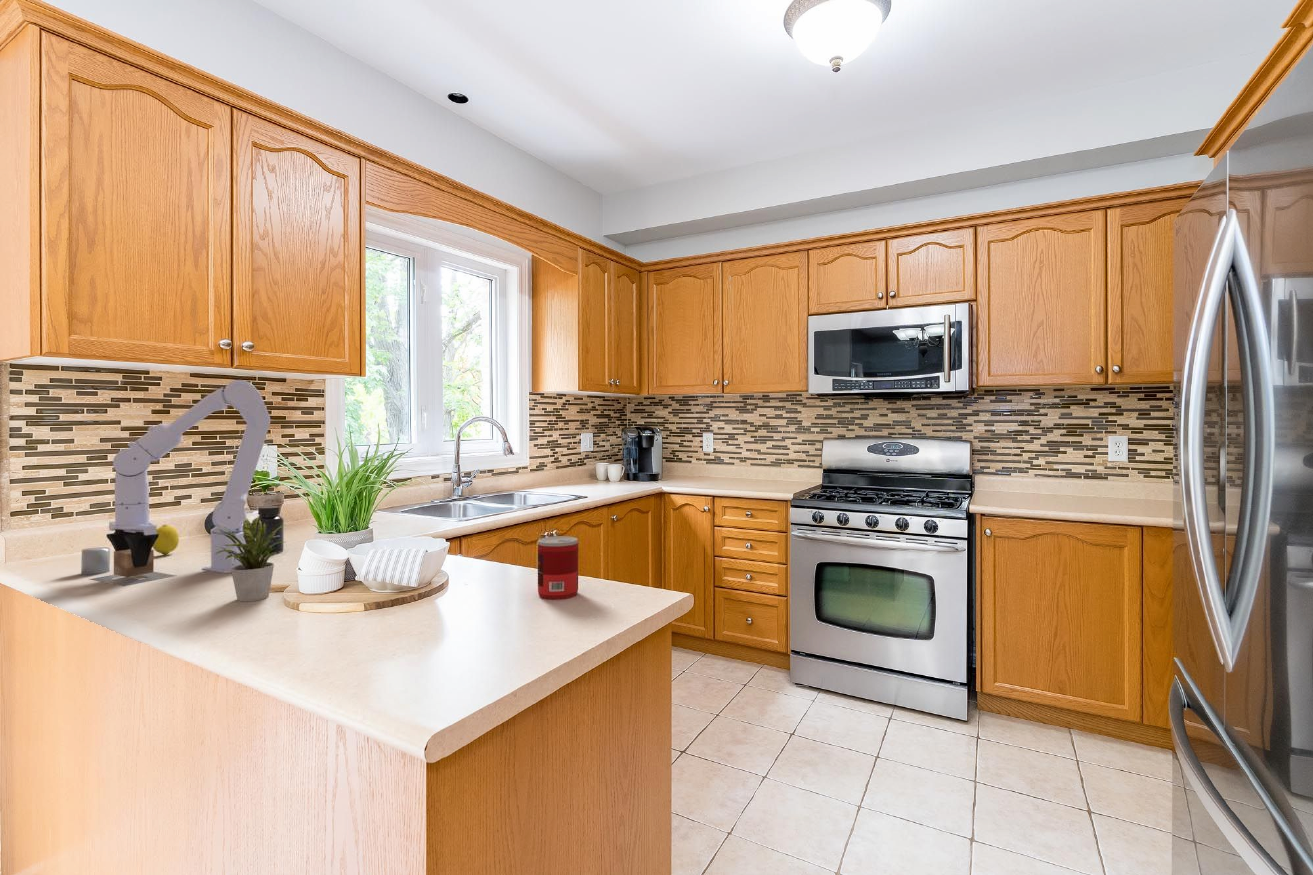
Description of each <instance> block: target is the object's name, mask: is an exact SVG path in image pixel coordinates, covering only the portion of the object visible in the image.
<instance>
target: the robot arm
mask: <svg viewBox="0 0 1313 875" xmlns="http://www.w3.org/2000/svg"><path fill="white" fill-rule="evenodd" d="M228 405H229V406H231V407H232V408H233V409H234V410H236V411H238V412H239V414H240V416H241V417H242V419H243V420H244V421H245V423H246V427H245V428H244V432H243V435H242V439H241V442H240V444H239V447H238V451H237V454H236V457H235V460H234V462H233V466H232V469H231V472H230V476H229V478H228V480H227V484H226V487H225V489H224V490H225V491H224V494H223V496H222V498H221V500H220V501H219V503H218V504H216V505H215V507H214V508H213V513H212V516H211V519H212V524H215V525H214V527H213V528H211V529H210V565H208V566H203V567H202V570H203V571H204V570H205V571H210V572H217V573H223V574H229V573H232V572H231V568H232V567H234V566H237V565H241V564H242V563H241V562H239V561H238V560H237V559H235V561H234V557H233V556H232V557H229V558H227V559H226V557H227V556H228V555H230V554H229V553H227V552H226V551H224V552H220V553H218V554H216V553H217V552H219V551H222V550H224V549H222V548H225V549H226V550H232V551H235V552H236V553H241V552H240V550H239V549H238V548H237V547H236V546H225V544H234V542H233V541H232V540H231V539H229V538H228V537H226V536H225V535H219V534H226V533H224V532H228V531H229V530H230V531H231V532H232V533H233V534H234V535H235V536H236V537H237V538H238V539H239V540H240V541H241V543H242V544H246V542H245V539H244V537H243V535H244V533H243V522H244V521H245V518H246V513H245V512H246V511H245V505H246V502H247V498H248V494H249V492H250V487H251V485H252V481H253V478H254V475H255V472H256V468H257V466H258V463H259V459H260V457H261V456H260V455H261V453H262V450H263V447H264V444H265V440H266V439H267V438H266V437H267V435H268V431H269V428H270V425H271V416H270V414H269V412H268V409H267V406H266V404H265V402H264V399H263V396H262V394H261V393H260V391H259V390H258V389H257V387H256V386H254V385H253V384H252V383H251V382H249V381H248V380H244V379H235V380H232V381H230V382H229V383H227V385H226V386H225V387H224V386H222V387H220V388H219V389H217V390H215V391H213V392H211V393H209V394H208V395H206V396H204V398H202V399H201V400H199V401H198V402H197V403H195V404H194V405H193V406H192V407H191V408H189V409H188V410H186V411H185V412H184V413H183V414H181V415H180V416H179V417H178V418H176V419H175V420H173V422H171V423H159V424H157V425H154V424H153V425H151V426H149V427H148V428H147V431H148V432H146V433H145V434H144V435H142V436H141V437H139V438H138V439H136V440H135V441H130V442H128V443H127V446H128V447H129V448H124V449H120V450H119V451H118V453H116V454H115V456H114V457H113V459H112V460H113V461H112V466H113V468H114V470H115V474H114V479H115V482H114V515H115V516H114V520H115V521H114V520H113V521H109V523H108V524H109V525H108V529H109V531H110V532H111V531H114V532H113V533H112V532H111V533H107V534H106V535H105V536H106V538H107V540H109V542H110V543H111V545H112V547H113V549H114V551H121V550H127V549H130V550H131V555H132V562H133V565H134V567H142V566H147V563H148V559H149V556H150V552H151V549H152V548H153V545H154V543H155V541H156V540H157V538H158V537H159V534H158V533H157V529H158V528H157V527H158V526H157V525H156V524H153V523H152V522H151V521H150V488H149V486H150V485H149V484H150V483H149V481H148V469H149V467H150V465H151V462H157V461H159V460H160V459H161V458H163V457H164V456H165V455H166V454H168V453H169V452H171V451H172V450H173V449H175V448H176V447H177V446H178V445H180V444H181V443H182V441H183V433H185V432H187V431H188V430H189V429H191V428H192V427H193V426H195V425H197V424H198V423H199V422H201V421H203V420H204V419H205V418H208V416H209V415H211V414H212V413H214V412H218V411H223V410H228V408H229V407H228ZM219 525H221V526H219ZM222 526H224V527H226V528H227V529H229V530H227V529H226V528H224V527H222ZM219 529H222V530H219ZM226 530H227V531H226ZM220 531H224V532H220ZM230 531H229V532H228V533H230ZM230 534H231V533H230ZM226 535H228V534H226ZM229 536H230V535H229ZM230 537H231V536H230ZM233 539H234V538H233ZM234 540H235V539H234ZM235 541H236V540H235ZM255 541H256V538H255ZM236 542H237V541H236ZM237 543H238V542H237ZM214 546H218V547H214ZM220 547H222V548H220ZM240 548H241V547H240ZM241 549H242V548H241ZM152 550H153V549H152ZM232 551H231V552H232ZM242 551H243V552H244V550H243V549H242ZM235 552H234V553H235ZM244 553H245V552H244ZM215 554H216V555H215ZM231 554H232V553H231ZM232 555H233V554H232ZM242 556H243V555H242ZM245 556H246V555H245ZM225 559H226V560H225ZM238 559H239V558H238ZM239 560H240V559H239ZM240 561H241V560H240Z"/></svg>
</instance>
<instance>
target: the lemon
mask: <svg viewBox="0 0 1313 875" xmlns="http://www.w3.org/2000/svg"><path fill="white" fill-rule="evenodd" d="M157 533H158V534H159V537H158V538H157V540H156V541H155V543H154V545H153V547H152V548H153V550H154V552H155V551H156V552H157V553H159V554H161V555H163V556H168V555H169V554H170V553H172V552H173V551H175V550H176V549H177V547H178V546H179V541H180V539H179V538H180V537H179V533H178V531H177V529H175V528H174V527H172V526H170V525H167V524H163V525H162V526H160V527H158V528H157Z"/></svg>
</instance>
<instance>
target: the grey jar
mask: <svg viewBox="0 0 1313 875" xmlns="http://www.w3.org/2000/svg"><path fill="white" fill-rule="evenodd" d="M110 564H111V548H110V547H109V546H108V547H105V546H102V547H100V546H98V547H88V548H84V549H81V567H80V568H81V570H80V575H81V576H97V575H102V574H107V573H109V572H110V568H111V567H110Z"/></svg>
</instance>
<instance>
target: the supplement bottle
mask: <svg viewBox="0 0 1313 875" xmlns="http://www.w3.org/2000/svg"><path fill="white" fill-rule="evenodd" d="M257 509H258V510H257V515H258V516H259V515H260V516H259V518H258V522H257V527H256V534H255V538H257V533H258V525H259V520H260V521H261V524H262V528H263V524H264V522H265V525H266V533H265V536H264V540H263V543H264V542H265V540H266V538H267V537H268V536H269V535H270V534H271V533H272V532H273V531H274V530H276V529H277V528H279V527H280V528H279V529H278V530H277V531H276V533H275V534H274V535H273V537H272V538H271V540H270V542H269V543H268V545H267V546H266V548H265V550H264V551H263V553H262V554H261V555H263V554H264V552H265V551H266V550H267V548H268V547H270V546H271V545H273V544H275V543H277V544H275V545H273V546H272V550H271V551H270V553H269V554H271V553H273V552H278V553H281V552H282V553H283V551H284V547H285V546H284V545H285V544H284V543H285V541H284V539H285V535H284V534H285V533H284V532H285V520H284V518H283V517H282V516H280V506H274V505H270V506H269V505H268V506H259V507H258V508H257ZM283 524H284V525H283ZM282 525H283V526H282ZM281 526H282V527H281ZM278 542H282V543H278ZM262 546H263V544H262ZM280 551H281V552H280ZM278 553H277V554H278ZM269 554H268V555H269Z"/></svg>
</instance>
